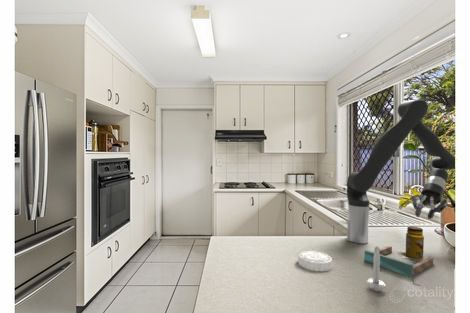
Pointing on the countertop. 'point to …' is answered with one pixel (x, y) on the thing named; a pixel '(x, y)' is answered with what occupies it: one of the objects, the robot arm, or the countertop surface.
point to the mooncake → (315, 261)
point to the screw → (376, 273)
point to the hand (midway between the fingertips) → (423, 216)
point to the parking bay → (397, 262)
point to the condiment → (414, 244)
